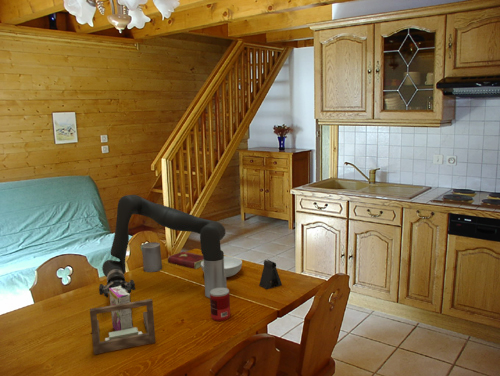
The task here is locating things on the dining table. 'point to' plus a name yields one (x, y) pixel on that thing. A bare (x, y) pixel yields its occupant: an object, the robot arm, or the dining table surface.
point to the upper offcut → (123, 333)
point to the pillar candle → (151, 257)
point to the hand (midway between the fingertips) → (118, 293)
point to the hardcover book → (186, 259)
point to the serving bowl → (229, 265)
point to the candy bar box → (120, 317)
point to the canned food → (220, 304)
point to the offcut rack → (125, 341)
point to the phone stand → (270, 276)
